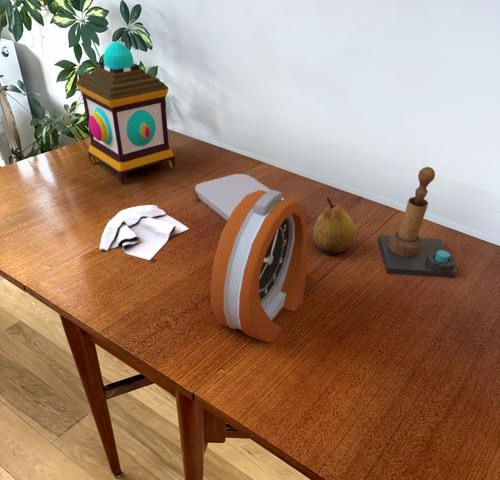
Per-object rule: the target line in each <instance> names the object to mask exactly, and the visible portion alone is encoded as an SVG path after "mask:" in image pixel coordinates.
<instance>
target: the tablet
mask: <svg viewBox="0 0 500 480" xmlns="http://www.w3.org/2000/svg"><path fill="white" fill-rule="evenodd" d="M194 189H195V190H194V191H195V194H197V197H198V198H199V200H201V202H203V203H204V204H206V205H207V206H208V207H209V208H211V209H212V210H213V211H214V212H216V213H217V214H218V215H220V217H222V218H223V219H224V220H226V222H227V221H228V219H229V218H230V216H231V214H232V212H233V210H234V209H235V208H236V206H237V205H238V204H239V203H240V202H241V201H242V199H243V198H244V197H245V196H246V195H248V194H250V193H253V192H255V191H257V190H263V191H267V192H268V191H271V190H272V189H270V188H268V187H267V186H266V185H264V184H262V183H261V182H260V181H259V180H257V179H255V178H253V177H252V176H251V175H249V174H245V173H234V174H230V175H226V176H222V177H218V178H215V179H211V180H207V181H202V182H200V183H198V184H196V185H195V188H194ZM281 199H285V198H284V197H282V198H281Z"/></svg>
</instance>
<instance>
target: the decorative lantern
mask: <svg viewBox="0 0 500 480" xmlns="http://www.w3.org/2000/svg"><path fill="white" fill-rule="evenodd" d="M75 86H76V88H77V89H78V91H79V92H80V94H81V96H82V102H83V107H84V112H85V117H86V123H87V126H88V127H87V128H88V133H89V138H90V143H89V146H88V150H87V155H88V159H89V161H90V163H91V164H96V162H97V160H98V161H99V162H100V163H102V164H104V165H106V167H108V168H110V169H111V170H113V171H115V172H116V174H117V175H118V179H119V182H120V183H121V184H125V183H126V175H127V174H129V173H130V172H133V171H137V170H140V169H144V168H147V167H151V166H153V165H158V164H161V163H164V162H168V166H169V168H170V169H174V168H175V167H176V157H175V154H174V152H173V150H172V149H171V147H170V143H169V133H168V132H169V131H168V119H167V106H166V105H167V104H166V97H167V95H168V92H169V87H168V86H167V85H166V83H164V82H163V81H161V80H160V78H158V77H156V76H153V75H151V74H149V73H147V72H145V70H144V69H142V68H140V65H139V64H136V63H134V56H133V53H132V52H131V51H130V49H129V48H128V47H127V46H126V45H124V43H122V42H120V41H117V40H116V41H113V42H110V43H109V44H108V46H107V47H106V48H105V50H104V52H103V62H99V66H97V67H95V70H91V72H89V73H84V74H82V75H81V77H79V78H78V79H77V80H76V81H75Z"/></svg>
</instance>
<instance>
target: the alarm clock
mask: <svg viewBox="0 0 500 480" xmlns="http://www.w3.org/2000/svg"><path fill="white" fill-rule="evenodd" d="M270 190H271V191H268V192H267V191H263V190H257V191H255V192H253V193H250V194H248V195H246V196H245V197H244V198H243V199H242V201H241V202H240V203H239V204H238V205H237V206H236V208H235V209H234V210H233V212H232V214H231V216H230V218H229V219H228V221H227V220H226V223H225V226H224V228H223V229H222V231H221V234H220V236H219V241H218V244H217V248H216V252H215V254H214V258H213V264H212V271H211V276H210V277H211V278H210V306H211V310H212V314H213V317H214V318H215V319H216V321H217V322H218V323H219V324H220V325H222V326H224V327H226V328H229V329H232V330H236V329H238V330H240V331H242V332H243V333H244V335H246V336H248V337H252V338H254V339H256V340H258V341H261V342H266V343H270V342H273V341H274V339H275V338H276V337H277V335H278V334H279V333H280V332H281V330H282V327H281V326H279V324H276V323H275V322H274V321H273V319H274V318H275V317H276V316H277V314H278V313H279V312H280V311H281V309H282V308H283V309H286V310H288V311H292V312H296V311H297V310H298V308H299V307H300V305H301V304H302V303H303V301H304V296H305V291H306V282H307V274H308V255H309V253H308V252H309V251H308V249H309V247H308V246H309V245H308V244H309V235H308V223H307V222H308V221H307V216H306V210H305V206H304V205H303V204H302V203H301V202H299V201H297V200H296V199H294V198H290V197H286V198H284V199H281V198H283V197H282V196H283V193H282V191H279V190H274V189H270Z"/></svg>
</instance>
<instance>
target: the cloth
mask: <svg viewBox="0 0 500 480" xmlns="http://www.w3.org/2000/svg"><path fill="white" fill-rule="evenodd" d="M104 227H105V228H104V230H103V232H102V235H101V237H100V239H101V240H100V244H99V251H107V252H108V251H109V250H113V249H115V248H118V247H119V244H120V243H121V245H122V246H121V247H122V251H123V253H124V254H126V255H129V256H131V257H136V258H139V259H143V260H147V261H151V260H152V259H153V258H154V257H155V256H156V255H157V253H158V252H159V251H160V250H162V248H163V247H164V246H165V245H166V244H167V242H168V241H169V238H170V237H173V236H175V235H178V234H180V233H183V232H186V231H189V230H190V228H189V227H188V226H186V225H184V224H183V223H181V222H180V221H178V220H177V219H175V218H173V217H172V216H170V215H168V214H167V213H166V212H165V211H164V210H163V209H161V208H159V207H158V205H155V204H146V205H138V206H132V207H128V208H124V209H122V210H120V211H118V212H117V213H116V214H115V215H114V217H113V218H112V219H110V220H109V221H108V222H107V224H106V225H105V226H104Z"/></svg>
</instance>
